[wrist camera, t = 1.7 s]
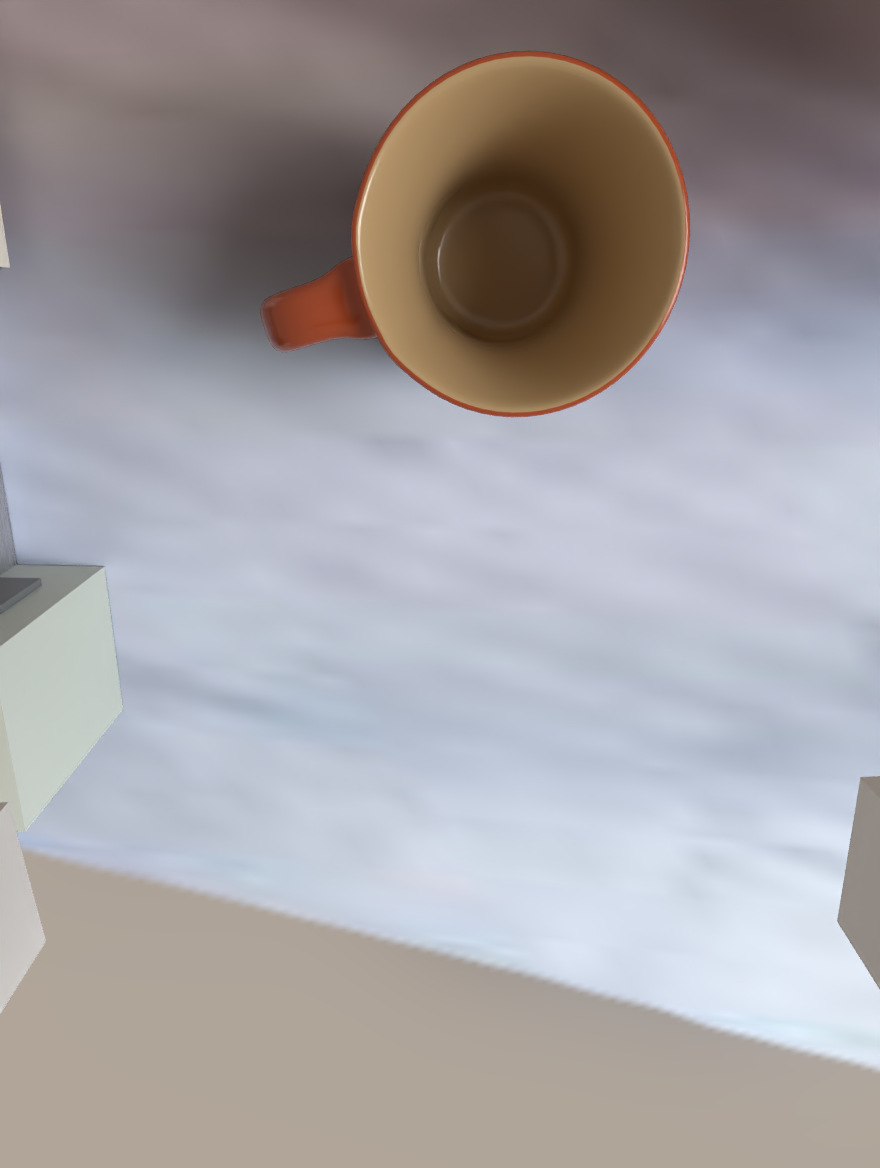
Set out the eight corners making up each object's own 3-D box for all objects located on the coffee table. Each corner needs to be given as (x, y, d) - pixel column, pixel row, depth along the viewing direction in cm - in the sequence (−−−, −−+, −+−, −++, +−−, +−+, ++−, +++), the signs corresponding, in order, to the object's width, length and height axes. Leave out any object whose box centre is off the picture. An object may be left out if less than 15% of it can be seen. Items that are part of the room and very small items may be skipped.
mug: (585, 102, 28) (656, -3, 19) (632, 347, 31) (716, 367, 21) (270, 203, 29) (183, 154, 20) (343, 430, 32) (298, 485, 23)
